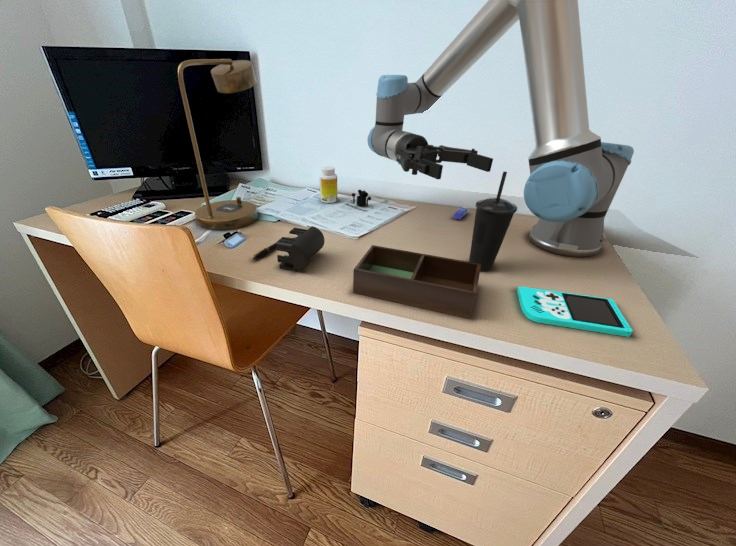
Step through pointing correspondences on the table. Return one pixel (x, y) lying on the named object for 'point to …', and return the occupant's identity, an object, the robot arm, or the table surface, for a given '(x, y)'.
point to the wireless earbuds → (361, 198)
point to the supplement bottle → (328, 185)
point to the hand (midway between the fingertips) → (466, 168)
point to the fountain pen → (264, 251)
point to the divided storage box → (418, 280)
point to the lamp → (214, 214)
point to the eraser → (460, 213)
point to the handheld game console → (573, 311)
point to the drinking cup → (490, 228)
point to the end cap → (299, 248)
